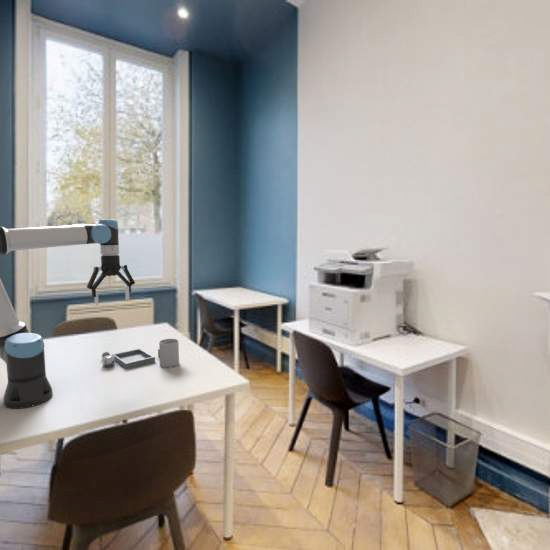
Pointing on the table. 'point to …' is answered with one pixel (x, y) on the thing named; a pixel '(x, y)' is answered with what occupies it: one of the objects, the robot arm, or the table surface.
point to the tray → (133, 358)
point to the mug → (169, 353)
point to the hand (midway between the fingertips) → (112, 302)
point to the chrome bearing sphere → (108, 361)
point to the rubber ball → (105, 354)
